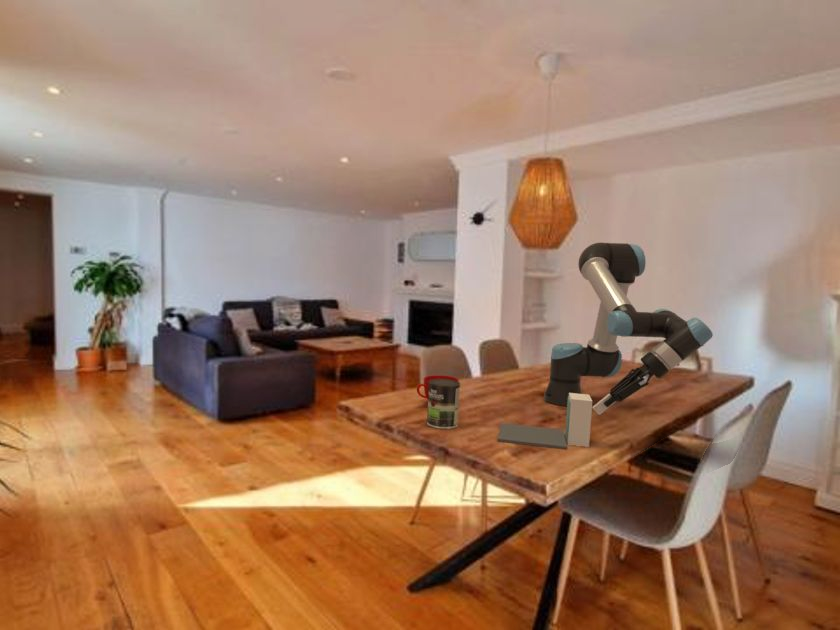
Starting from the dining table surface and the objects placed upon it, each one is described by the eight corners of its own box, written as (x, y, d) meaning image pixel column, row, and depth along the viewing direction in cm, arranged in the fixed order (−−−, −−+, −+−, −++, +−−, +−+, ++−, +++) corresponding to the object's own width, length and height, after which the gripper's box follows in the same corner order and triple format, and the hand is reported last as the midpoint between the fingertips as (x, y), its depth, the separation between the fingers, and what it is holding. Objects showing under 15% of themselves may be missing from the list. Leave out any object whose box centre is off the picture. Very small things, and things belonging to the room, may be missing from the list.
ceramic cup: (407, 403, 182) (408, 377, 181) (444, 399, 191) (445, 374, 190) (425, 413, 171) (427, 385, 170) (464, 407, 180) (465, 381, 179)
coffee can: (443, 431, 152) (445, 387, 151) (420, 423, 159) (422, 381, 158) (464, 425, 159) (466, 383, 158) (441, 417, 167) (443, 377, 165)
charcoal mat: (497, 441, 145) (497, 438, 145) (500, 425, 161) (500, 422, 161) (567, 449, 141) (567, 446, 141) (563, 432, 157) (563, 429, 156)
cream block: (585, 438, 151) (589, 394, 150) (588, 447, 144) (592, 401, 142) (564, 436, 153) (567, 392, 151) (566, 444, 145) (570, 398, 144)
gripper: (676, 374, 134) (607, 427, 139) (663, 366, 147) (600, 414, 152) (657, 354, 135) (589, 407, 140) (645, 347, 148) (584, 396, 152)
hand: (595, 411), depth 146 cm, fingers closed
